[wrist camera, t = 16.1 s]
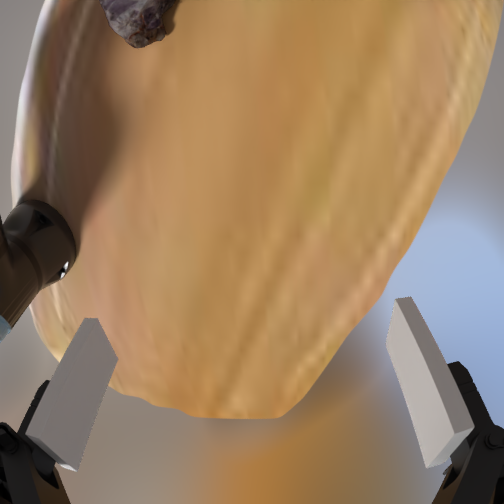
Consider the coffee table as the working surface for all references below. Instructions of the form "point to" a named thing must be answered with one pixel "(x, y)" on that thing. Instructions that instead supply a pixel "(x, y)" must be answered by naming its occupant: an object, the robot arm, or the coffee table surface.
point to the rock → (137, 19)
